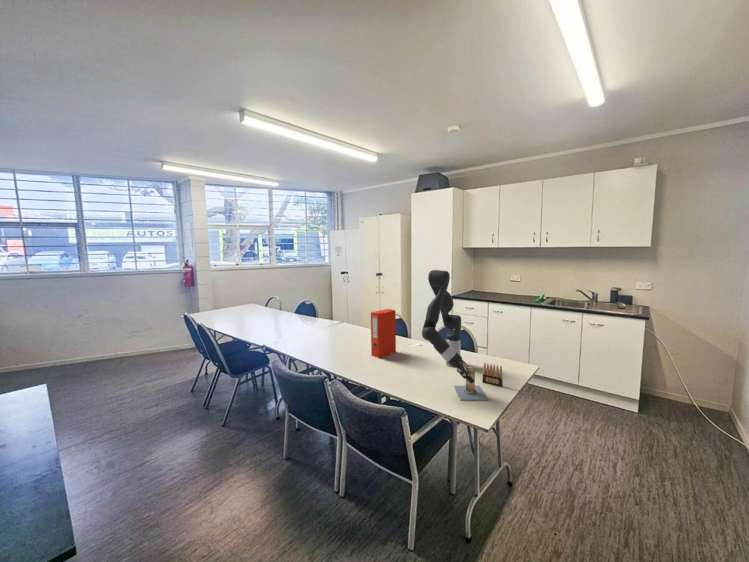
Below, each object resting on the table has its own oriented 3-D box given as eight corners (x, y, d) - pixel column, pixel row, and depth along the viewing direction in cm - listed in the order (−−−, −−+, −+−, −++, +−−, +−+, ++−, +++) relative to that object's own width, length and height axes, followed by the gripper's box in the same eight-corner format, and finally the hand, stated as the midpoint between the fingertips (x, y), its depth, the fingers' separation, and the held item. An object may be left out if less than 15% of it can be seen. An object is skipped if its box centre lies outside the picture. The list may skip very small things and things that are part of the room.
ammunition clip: (482, 382, 182) (482, 362, 181) (483, 381, 183) (483, 361, 182) (501, 387, 176) (502, 366, 174) (502, 385, 177) (503, 365, 176)
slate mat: (454, 386, 178) (454, 385, 178) (479, 386, 177) (479, 385, 177) (460, 400, 162) (460, 399, 162) (488, 400, 161) (488, 399, 161)
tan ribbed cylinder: (463, 389, 172) (463, 366, 171) (474, 389, 172) (474, 366, 171) (465, 394, 166) (466, 371, 165) (477, 394, 166) (477, 370, 165)
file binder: (396, 352, 236) (395, 310, 232) (379, 358, 224) (378, 314, 221) (388, 350, 242) (387, 308, 238) (371, 355, 230) (370, 312, 227)
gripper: (455, 356, 162) (478, 380, 160) (456, 347, 176) (478, 369, 174) (444, 365, 165) (467, 389, 162) (447, 355, 178) (468, 377, 176)
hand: (473, 378), depth 168 cm, fingers open, 8 cm apart
